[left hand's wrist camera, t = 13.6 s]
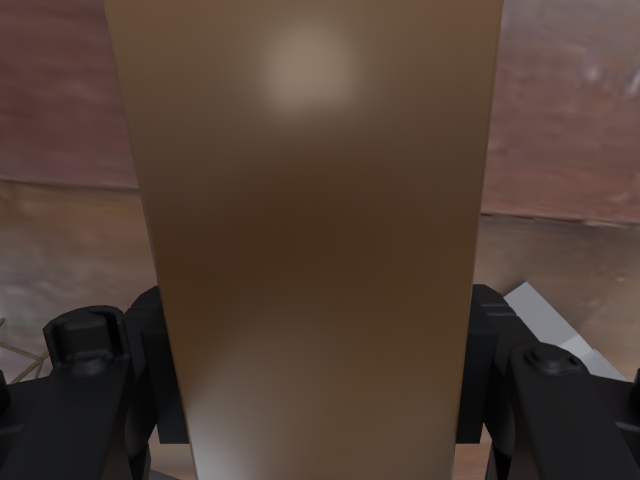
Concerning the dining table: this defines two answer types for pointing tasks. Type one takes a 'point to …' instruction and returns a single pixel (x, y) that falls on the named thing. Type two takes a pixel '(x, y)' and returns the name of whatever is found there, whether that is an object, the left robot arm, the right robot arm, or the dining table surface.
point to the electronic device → (556, 330)
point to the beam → (312, 222)
